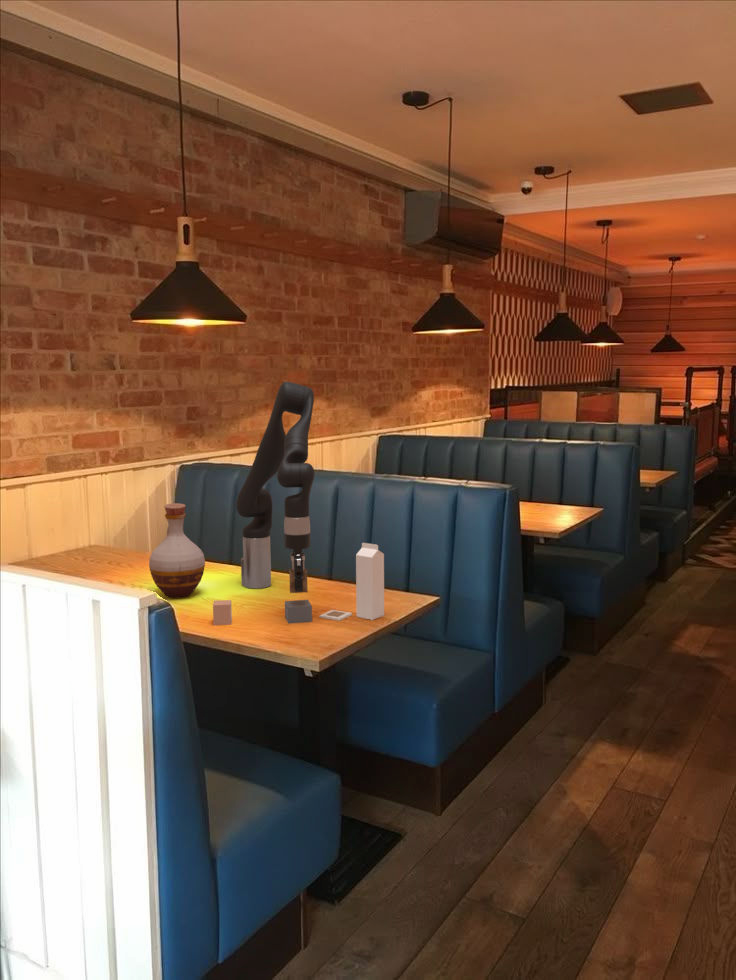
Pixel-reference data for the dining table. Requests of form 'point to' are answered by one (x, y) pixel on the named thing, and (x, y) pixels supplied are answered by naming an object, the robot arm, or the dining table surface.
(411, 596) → the dining table surface
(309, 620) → the charcoal block
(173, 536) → the jug
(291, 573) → the walnut block
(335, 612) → the tile
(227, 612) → the terracotta block
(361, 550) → the milk
